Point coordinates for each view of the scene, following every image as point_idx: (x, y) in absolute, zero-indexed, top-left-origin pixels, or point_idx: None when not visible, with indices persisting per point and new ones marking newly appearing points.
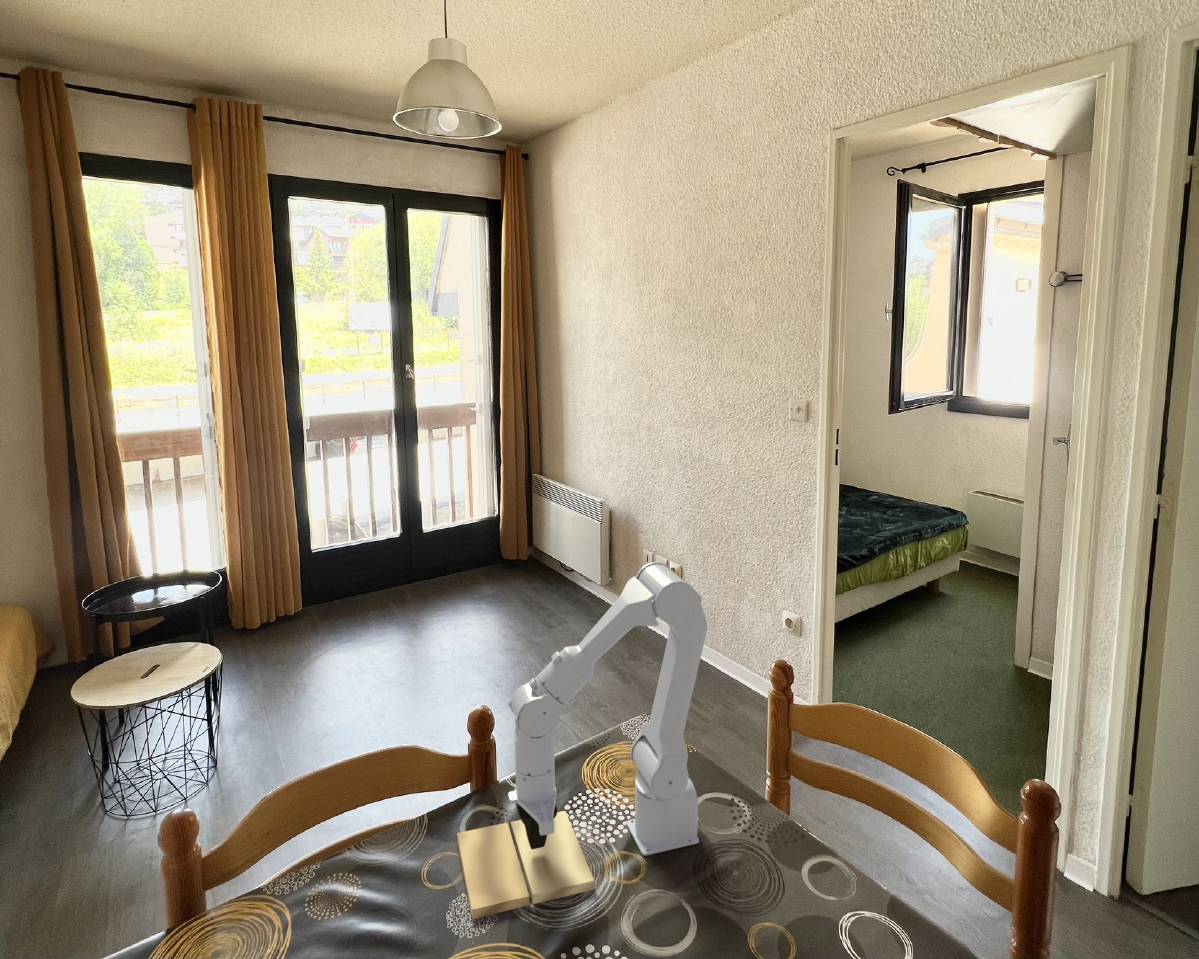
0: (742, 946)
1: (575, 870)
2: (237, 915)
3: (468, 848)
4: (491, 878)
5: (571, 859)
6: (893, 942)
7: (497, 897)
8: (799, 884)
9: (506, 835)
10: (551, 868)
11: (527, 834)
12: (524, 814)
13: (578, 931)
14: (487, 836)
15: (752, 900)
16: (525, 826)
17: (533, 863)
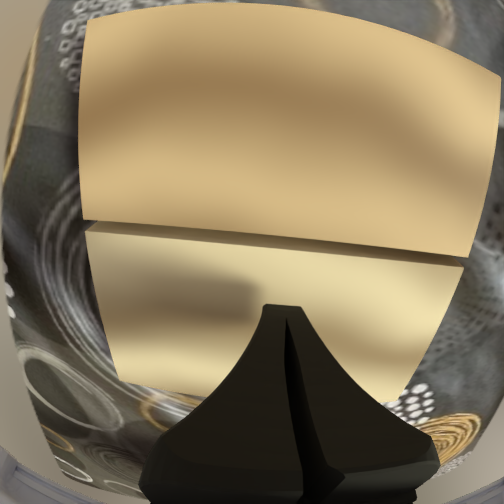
0: (41, 421)
1: (158, 366)
2: None
3: (423, 70)
4: (205, 98)
5: (205, 373)
6: (64, 469)
7: (103, 108)
8: (122, 482)
9: (421, 233)
10: (183, 320)
11: (259, 348)
12: (179, 496)
13: (33, 287)
14: (451, 165)
15: (101, 459)
16: (205, 403)
17: (227, 279)
